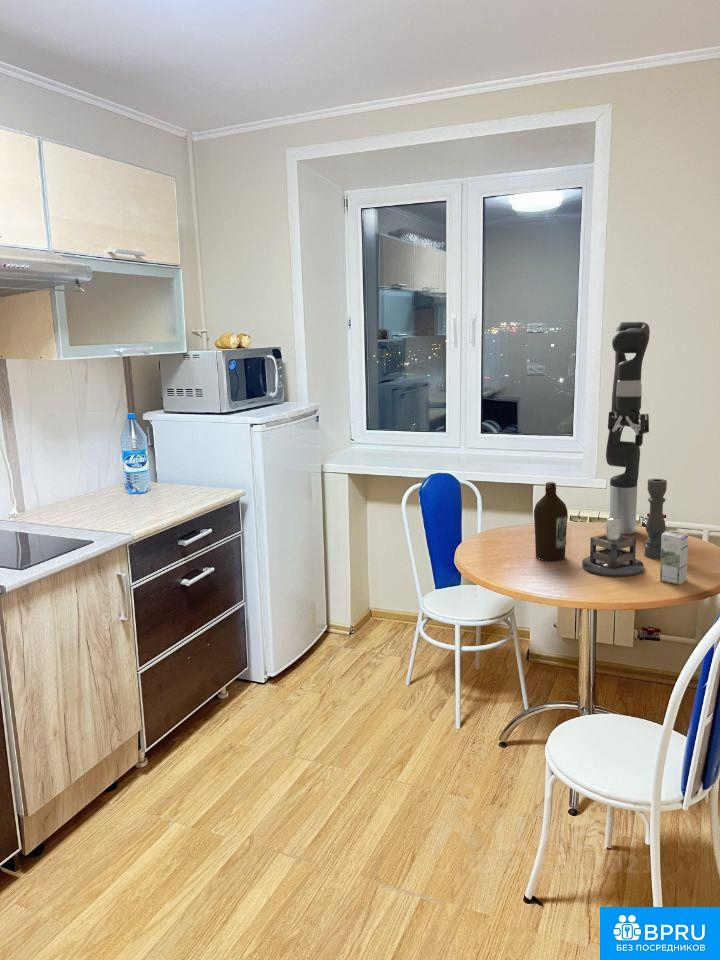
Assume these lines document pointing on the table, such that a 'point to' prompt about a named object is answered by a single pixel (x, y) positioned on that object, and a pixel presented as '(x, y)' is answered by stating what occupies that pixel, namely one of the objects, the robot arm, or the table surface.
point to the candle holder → (655, 518)
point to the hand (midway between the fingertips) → (627, 444)
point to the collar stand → (613, 558)
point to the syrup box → (674, 557)
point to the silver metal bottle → (612, 532)
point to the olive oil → (550, 525)
